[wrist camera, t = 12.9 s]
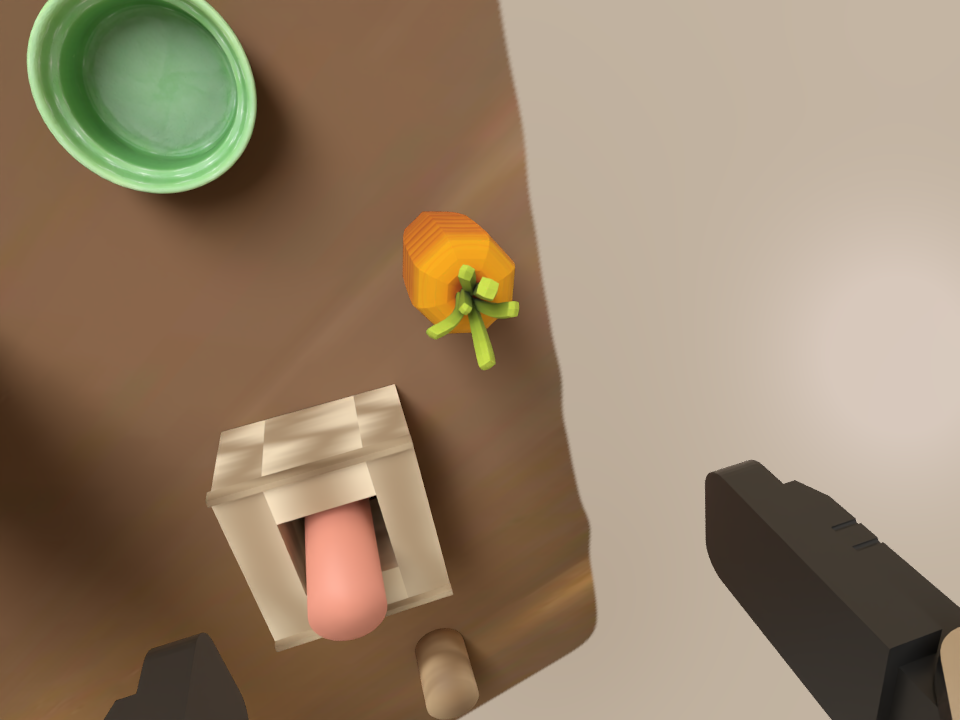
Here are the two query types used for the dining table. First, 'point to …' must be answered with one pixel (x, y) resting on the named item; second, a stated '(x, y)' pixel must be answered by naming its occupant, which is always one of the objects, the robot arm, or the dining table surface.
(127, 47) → the ramekin
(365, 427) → the hole block
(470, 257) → the carrot
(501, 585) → the dining table surface
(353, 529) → the long dowel
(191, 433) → the dining table surface
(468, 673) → the short dowel
